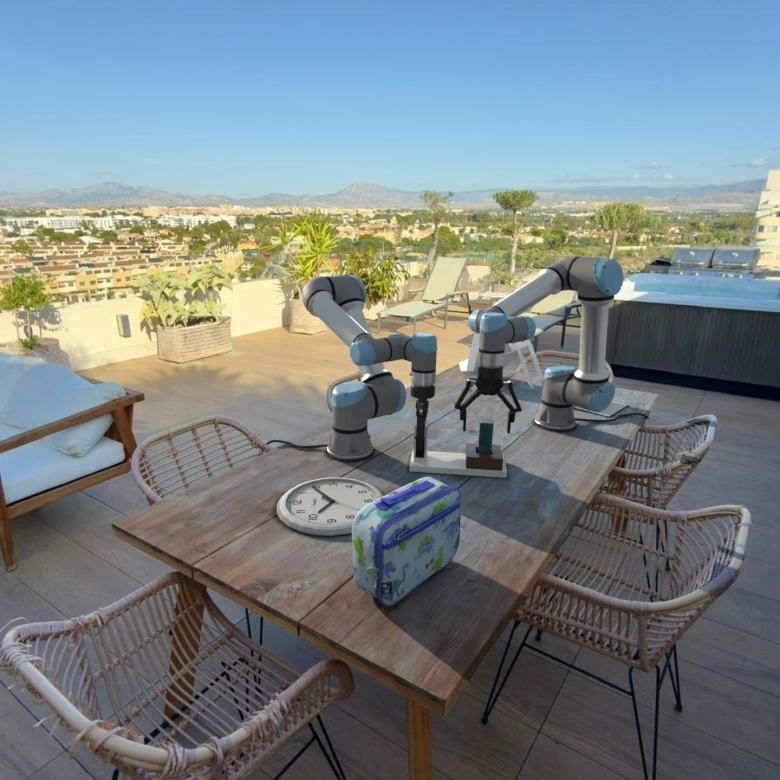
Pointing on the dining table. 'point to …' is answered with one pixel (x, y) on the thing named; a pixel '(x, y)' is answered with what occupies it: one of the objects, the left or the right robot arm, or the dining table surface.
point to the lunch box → (405, 538)
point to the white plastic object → (510, 354)
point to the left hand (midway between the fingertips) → (420, 452)
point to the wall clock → (325, 505)
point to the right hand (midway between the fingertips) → (486, 431)
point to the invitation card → (608, 409)
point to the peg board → (459, 461)
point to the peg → (485, 436)
